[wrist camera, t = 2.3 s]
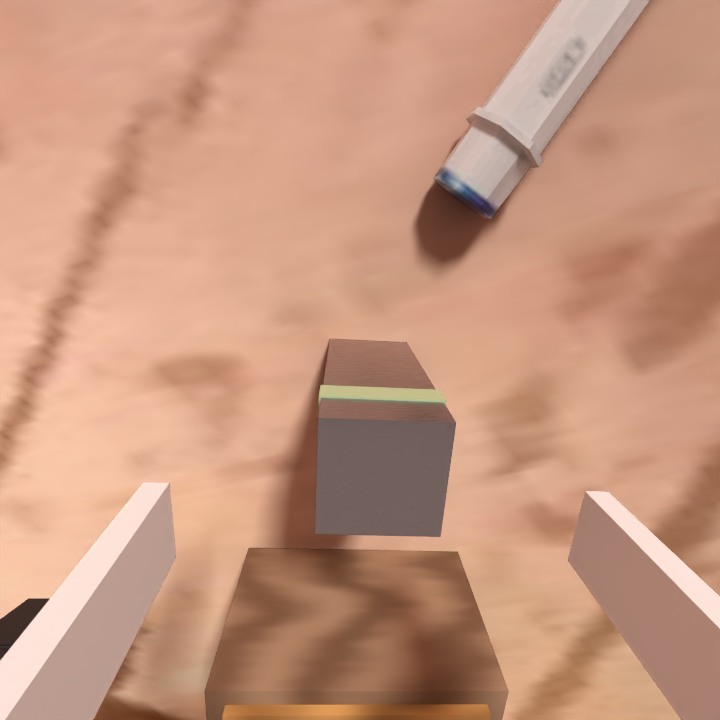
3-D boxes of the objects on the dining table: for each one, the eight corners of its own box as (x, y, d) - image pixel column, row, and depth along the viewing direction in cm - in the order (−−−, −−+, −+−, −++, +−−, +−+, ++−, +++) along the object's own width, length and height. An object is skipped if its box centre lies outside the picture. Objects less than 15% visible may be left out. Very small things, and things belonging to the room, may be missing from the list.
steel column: (408, 340, 26) (459, 420, 14) (401, 414, 27) (442, 538, 16) (328, 337, 26) (315, 414, 14) (325, 411, 27) (311, 536, 16)
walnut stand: (457, 551, 31) (520, 723, 20) (434, 699, 35) (475, 905, 24) (249, 547, 30) (194, 725, 19) (252, 699, 35) (210, 913, 24)
